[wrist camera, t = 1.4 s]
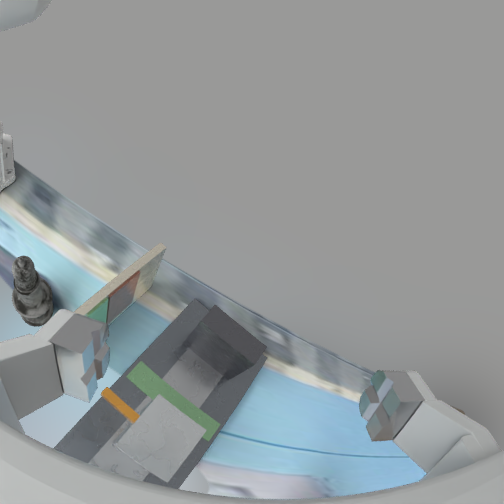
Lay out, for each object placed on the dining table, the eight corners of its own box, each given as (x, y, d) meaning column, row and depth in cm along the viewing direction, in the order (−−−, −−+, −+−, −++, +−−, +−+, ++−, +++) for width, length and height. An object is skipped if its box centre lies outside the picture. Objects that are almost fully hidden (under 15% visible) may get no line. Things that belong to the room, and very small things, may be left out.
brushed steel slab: (146, 470, 25) (167, 482, 17) (88, 422, 25) (81, 414, 17) (174, 434, 29) (206, 430, 21) (119, 389, 30) (126, 365, 22)
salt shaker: (57, 291, 34) (49, 238, 26) (53, 330, 31) (40, 286, 23) (20, 286, 31) (3, 232, 23) (15, 326, 28) (-9, 280, 20)
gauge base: (149, 520, 22) (166, 544, 15) (15, 405, 23) (-12, 390, 16) (263, 360, 44) (300, 336, 37) (159, 271, 45) (175, 231, 38)
